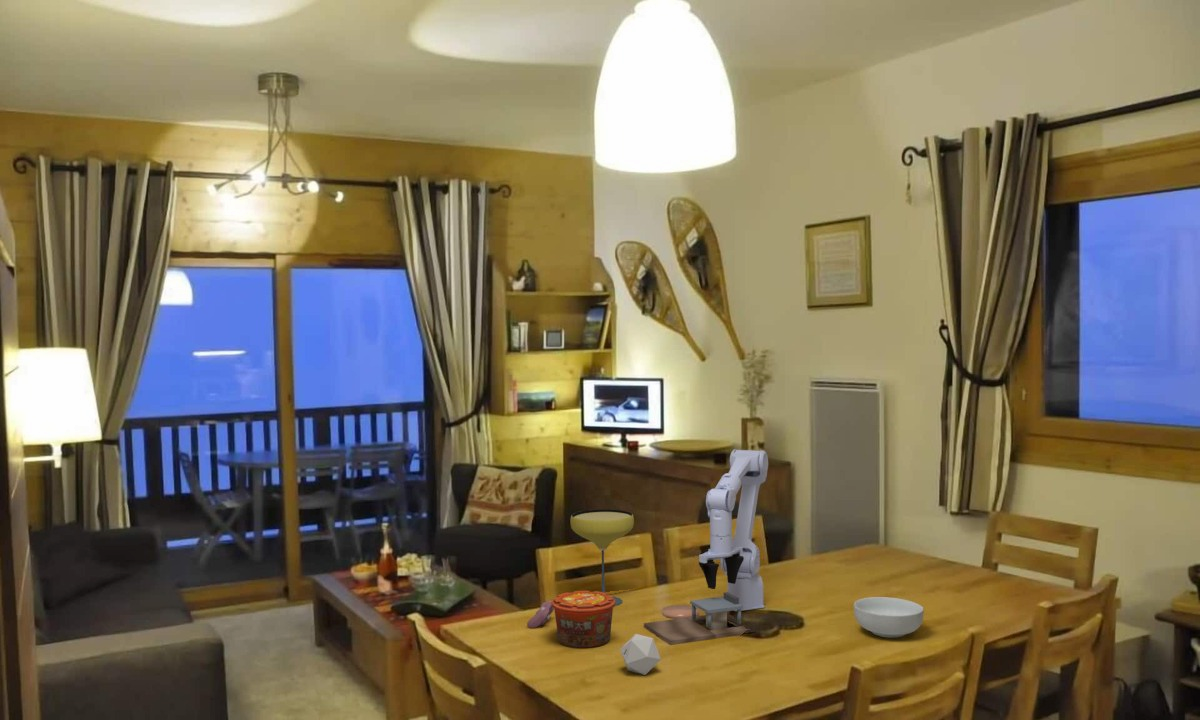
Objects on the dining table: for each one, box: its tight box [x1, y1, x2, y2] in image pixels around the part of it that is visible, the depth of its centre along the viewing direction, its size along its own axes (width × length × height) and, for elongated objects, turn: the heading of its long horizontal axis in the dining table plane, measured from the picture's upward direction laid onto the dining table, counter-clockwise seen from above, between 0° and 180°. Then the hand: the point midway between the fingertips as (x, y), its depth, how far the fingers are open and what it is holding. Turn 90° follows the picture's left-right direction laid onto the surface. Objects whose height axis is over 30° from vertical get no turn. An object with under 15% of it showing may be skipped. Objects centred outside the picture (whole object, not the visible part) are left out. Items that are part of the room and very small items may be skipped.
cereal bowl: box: [853, 596, 925, 639], centre depth 246 cm, size 17×17×7 cm
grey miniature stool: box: [689, 591, 743, 630], centre depth 253 cm, size 10×10×6 cm
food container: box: [551, 590, 616, 649], centre depth 244 cm, size 16×16×11 cm
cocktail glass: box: [569, 508, 635, 607], centre depth 279 cm, size 18×18×25 cm
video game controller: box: [526, 600, 555, 629], centre depth 259 cm, size 10×5×7 cm, turn 169°
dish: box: [661, 604, 700, 619], centre depth 266 cm, size 10×10×1 cm
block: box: [705, 611, 728, 630], centre depth 253 cm, size 4×4×5 cm
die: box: [619, 633, 662, 676], centre depth 221 cm, size 8×9×10 cm
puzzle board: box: [643, 612, 750, 646], centre depth 251 cm, size 24×16×1 cm, turn 111°
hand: (721, 585), depth 258 cm, fingers open, 7 cm apart
